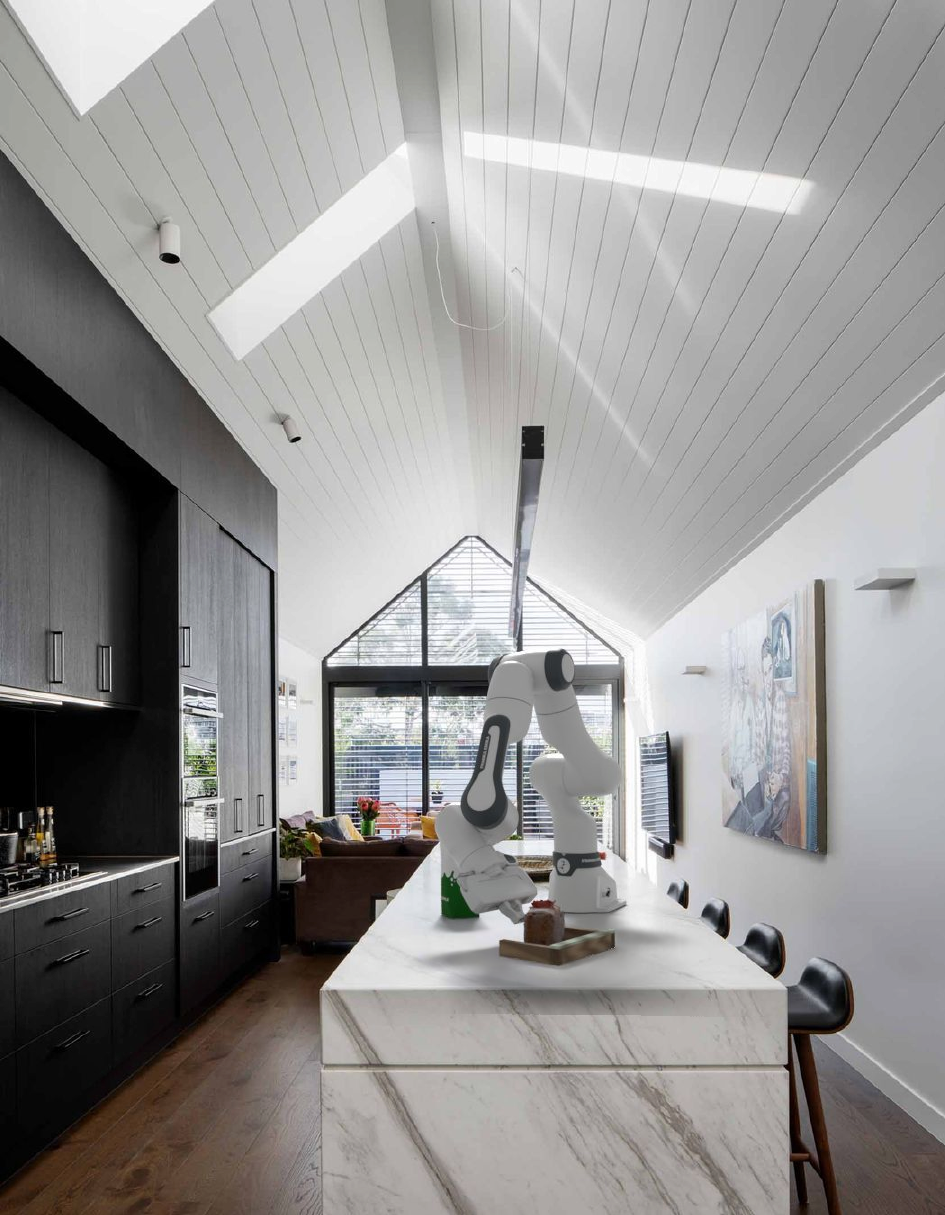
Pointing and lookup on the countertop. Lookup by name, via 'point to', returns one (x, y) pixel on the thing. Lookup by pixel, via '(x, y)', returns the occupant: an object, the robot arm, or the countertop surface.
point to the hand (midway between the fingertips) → (521, 921)
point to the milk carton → (452, 890)
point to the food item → (544, 923)
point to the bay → (561, 947)
